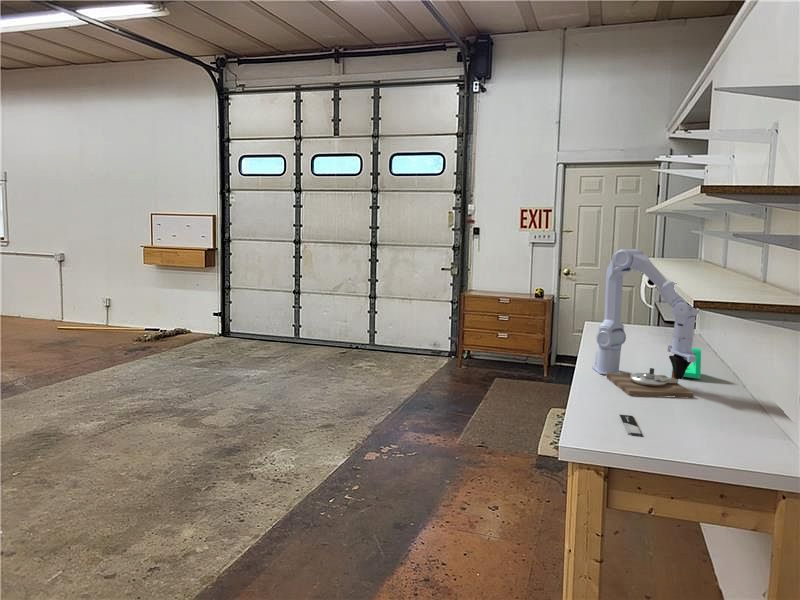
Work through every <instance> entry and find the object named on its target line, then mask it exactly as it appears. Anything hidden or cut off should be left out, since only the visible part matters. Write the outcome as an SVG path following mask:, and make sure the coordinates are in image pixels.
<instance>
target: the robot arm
mask: <svg viewBox="0 0 800 600" xmlns="http://www.w3.org/2000/svg"><path fill="white" fill-rule="evenodd" d="M631 270H633V271H638V272H642V273H643V274H644V275H645V276H646V277H647V278H648V279H649V280H650V281H651V282H652V283H653V284H654V285H655V286H656V287H657V288H658V294H659V295H660V296H661V298H662V299H664V301H665V302H666V303H667V304H668V305H669V307H671V310H672V314H673V316H674V317H675V319H674V324H673V335H672V343H671V345H667V352H669V353H672V354H673V355H669V356H668V358H669V360H670V362H671V363H670V364H671V366H672V369H673V374H674V378H675V379H678V380H683V378H684V377H683V376H684V374H685V371H686V369H687V367H688V366H689V365H690V364H692V362H695V358H696V356H694V355H693V354H695V352H694V351H692V348H693V340H694V333H695V332H694V331H695V325H696V324H695V323H696V316H697V315H698V314H699V313H700V310H697V309H695V308H693V307H691V306H690V305H688V304H687V303H686V302H685V301H684V300H683V299H682V298H681V297H680V296H679V295H678V294H677V293H676V292H675V290H674V285H675V284H677V283H678V282H674V281H671V280H670V281H669V280H667V279H666V278H665V276H664V275H663V274H662V273H661V272H660V270H659V269H658V268H657V267H656V266H655V265H654V264H653V262H652V261H651V260H650V258H649V256H648V255H647V254H645V253H644V252H643V251H642V250H641V249H639V248H634V249H625V248H621V249H619V250H617V251H616V252H615V253H614V254H612V255H611V261H610V263H609V265H608V266H607V268H606V274H605V275H606V276H605V296H604V297H605V299H604V314H603V315H604V317H603V321H602V322H601V323H600V325H598V326H599V327H598V332H597V334H596V337H595V339H596V343H597V344H598V345H597V346H598V347H597V348H596V350H595V359H594V365H593V366H591V368H592V369H593V370H595V371H596V372H597V373H598V374H599V375H607V373H614V374H623V372H621V371H620V362H621V352H622V345H624V344H625V342H626V339H627V334H626V332H625V325H624V324H623V322H622V320H621V318H622V300H623V283H624V276H625V275H627V274H628V273H629V272H630V271H631ZM690 366H691V365H690Z"/></svg>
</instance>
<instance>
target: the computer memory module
mask: <svg viewBox="0 0 800 600" xmlns="http://www.w3.org/2000/svg"><path fill="white" fill-rule="evenodd" d="M619 417H620V419H621V421H622V423H623V426H625V427H624V428H625V432H626V433H627V435H628V436H632V437H640V438H644V437H645V436H644V434H643V432H642V430H641V428H640V426H639V424H638V422H637V420H636V417H634V416H633V415H630V414H619Z"/></svg>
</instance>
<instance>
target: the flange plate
mask: <svg viewBox="0 0 800 600" xmlns="http://www.w3.org/2000/svg"><path fill="white" fill-rule="evenodd" d="M630 374H631V375H630V380H631V381H633V382H635V383H638V384H642V385H648V386H664V385H666V384H667V383H678V384H679V379H675V378H674V374H673V368H672V369H671V377H668V378H665V377H661V376H658V375H659V374H655V373H654V374H650V373H649V372H635V373H634V372H633V373H630Z"/></svg>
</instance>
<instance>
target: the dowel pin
mask: <svg viewBox="0 0 800 600" xmlns="http://www.w3.org/2000/svg"><path fill="white" fill-rule="evenodd" d="M648 373H650V374H654V375H655V368H653V367H652V368H651V367H650V368H649V372H648Z"/></svg>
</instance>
